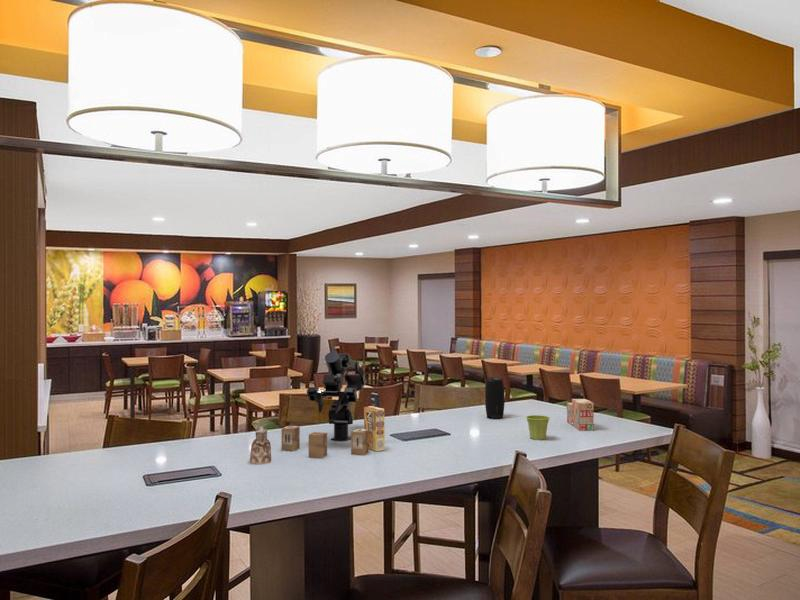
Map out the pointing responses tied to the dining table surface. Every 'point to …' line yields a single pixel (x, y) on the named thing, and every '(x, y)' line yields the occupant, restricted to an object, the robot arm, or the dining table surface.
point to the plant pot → (537, 426)
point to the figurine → (260, 447)
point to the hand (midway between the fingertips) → (327, 412)
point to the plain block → (317, 445)
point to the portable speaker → (494, 397)
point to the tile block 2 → (359, 442)
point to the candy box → (375, 427)
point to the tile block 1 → (290, 438)
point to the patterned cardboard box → (581, 414)
